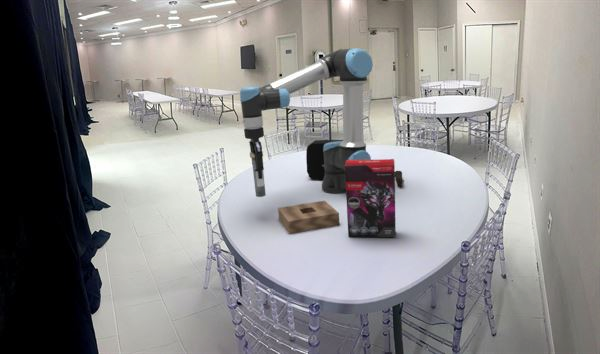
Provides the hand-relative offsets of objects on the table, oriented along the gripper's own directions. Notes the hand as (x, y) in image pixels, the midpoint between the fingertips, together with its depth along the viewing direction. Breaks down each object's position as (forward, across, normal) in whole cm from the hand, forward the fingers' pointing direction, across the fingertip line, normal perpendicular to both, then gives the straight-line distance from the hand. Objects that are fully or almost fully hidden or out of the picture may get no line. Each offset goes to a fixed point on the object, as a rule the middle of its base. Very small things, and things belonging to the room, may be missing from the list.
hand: (259, 184), depth 178 cm
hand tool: (+16, -16, +72) cm, 76 cm away
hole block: (+15, +13, +15) cm, 25 cm away
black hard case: (+16, -39, +48) cm, 64 cm away
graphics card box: (+15, +34, +33) cm, 50 cm away
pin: (+5, 0, 0) cm, 5 cm away
